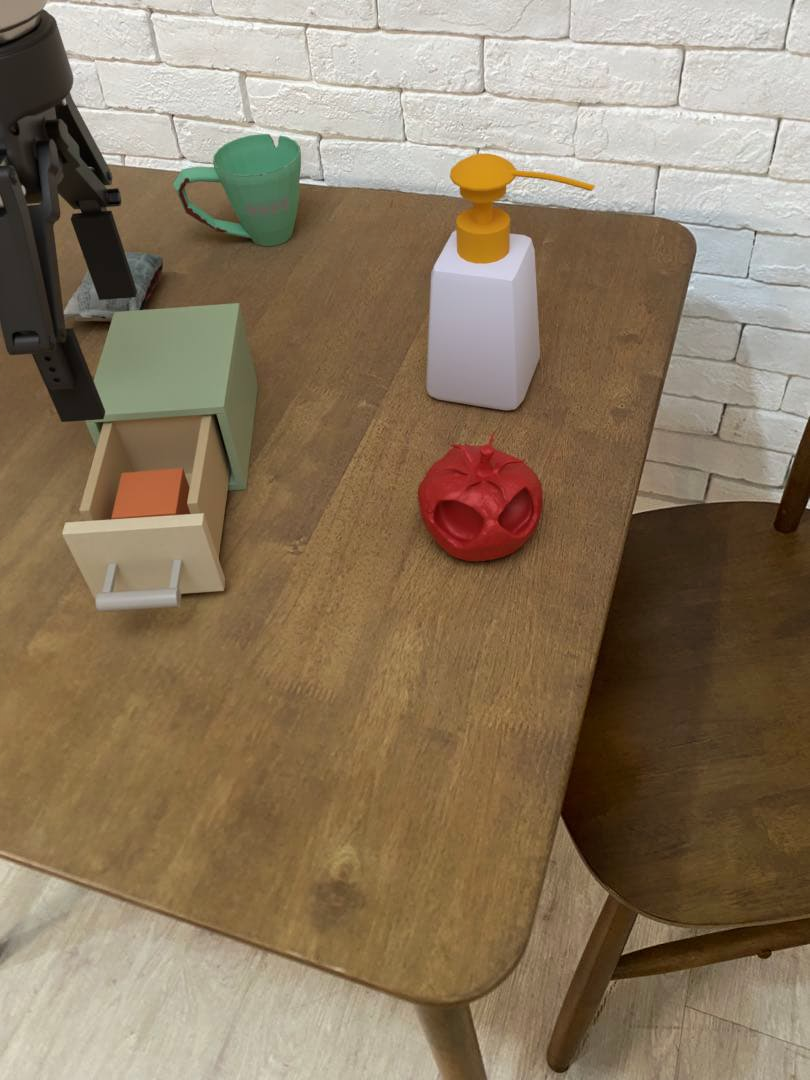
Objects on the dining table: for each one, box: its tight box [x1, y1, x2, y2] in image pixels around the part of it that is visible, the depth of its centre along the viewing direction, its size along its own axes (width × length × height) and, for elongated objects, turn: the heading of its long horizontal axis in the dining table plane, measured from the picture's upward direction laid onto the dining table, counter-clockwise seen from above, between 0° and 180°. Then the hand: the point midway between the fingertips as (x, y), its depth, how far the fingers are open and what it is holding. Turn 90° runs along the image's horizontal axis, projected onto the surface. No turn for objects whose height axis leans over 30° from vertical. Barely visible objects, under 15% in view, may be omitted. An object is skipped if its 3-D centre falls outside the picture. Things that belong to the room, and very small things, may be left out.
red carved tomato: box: [417, 430, 544, 562], centre depth 75 cm, size 10×10×9 cm
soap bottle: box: [425, 153, 596, 411], centre depth 82 cm, size 10×14×22 cm
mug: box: [172, 133, 302, 247], centre depth 108 cm, size 15×10×10 cm
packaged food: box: [63, 251, 164, 322], centre depth 102 cm, size 9×12×5 cm
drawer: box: [61, 414, 230, 613], centre depth 75 cm, size 18×10×8 cm, turn 2°
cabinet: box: [84, 302, 259, 492], centre depth 84 cm, size 15×12×10 cm
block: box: [112, 468, 190, 519], centre depth 75 cm, size 5×5×5 cm
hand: (102, 352), depth 65 cm, fingers open, 13 cm apart
